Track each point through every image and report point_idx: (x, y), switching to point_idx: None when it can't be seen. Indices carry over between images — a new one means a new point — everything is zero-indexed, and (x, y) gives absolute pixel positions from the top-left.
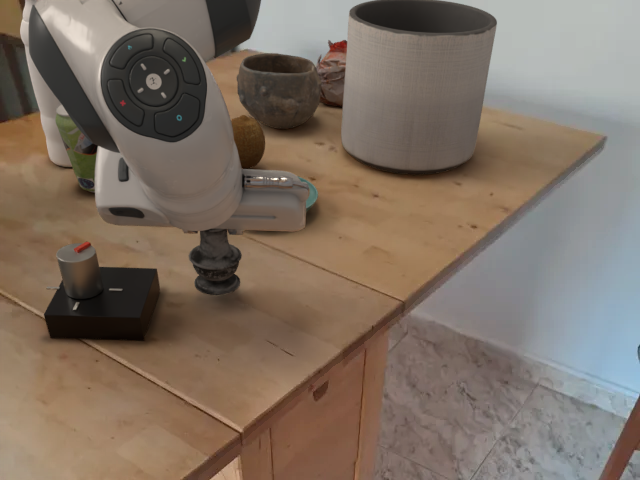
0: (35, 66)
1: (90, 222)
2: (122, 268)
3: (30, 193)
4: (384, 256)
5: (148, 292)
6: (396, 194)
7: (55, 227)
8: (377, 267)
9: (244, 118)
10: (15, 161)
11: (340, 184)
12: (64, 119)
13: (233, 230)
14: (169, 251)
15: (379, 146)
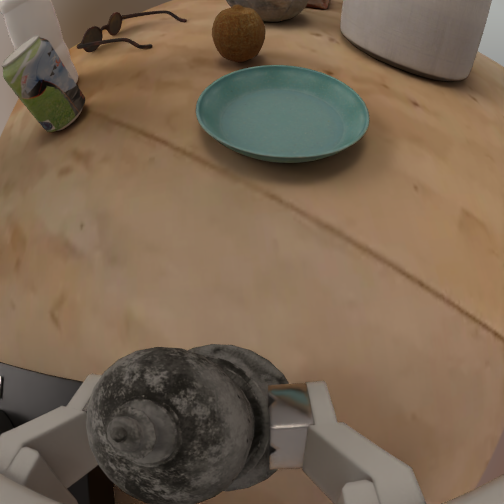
0: (8, 27)
1: (37, 188)
2: (34, 376)
3: (6, 150)
4: (484, 235)
5: (87, 475)
6: (434, 104)
7: (4, 207)
8: (486, 267)
9: (238, 7)
10: (16, 109)
11: (366, 82)
12: (5, 70)
13: (293, 467)
14: (126, 249)
15: (403, 46)
